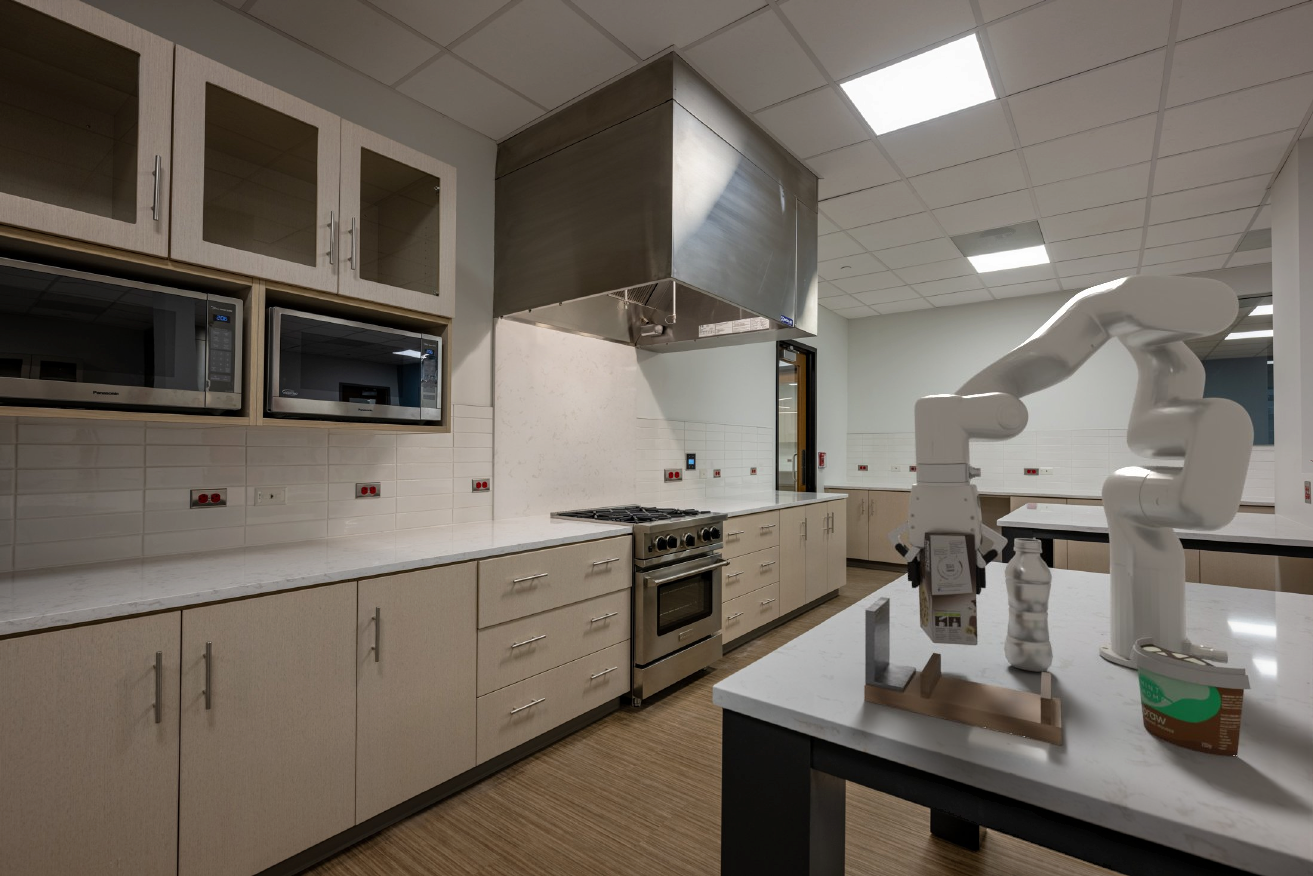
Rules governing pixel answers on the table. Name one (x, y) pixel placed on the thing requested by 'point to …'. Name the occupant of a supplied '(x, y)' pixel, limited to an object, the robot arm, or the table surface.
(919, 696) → the book rack
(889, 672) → the bookend
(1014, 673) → the table surface
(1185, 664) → the food container
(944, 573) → the coffee box
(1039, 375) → the robot arm
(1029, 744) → the table surface
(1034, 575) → the plastic bottle
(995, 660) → the table surface
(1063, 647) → the table surface
